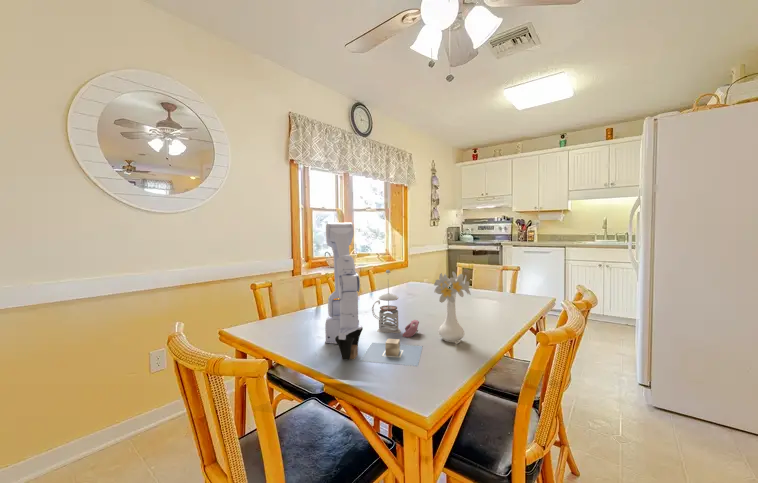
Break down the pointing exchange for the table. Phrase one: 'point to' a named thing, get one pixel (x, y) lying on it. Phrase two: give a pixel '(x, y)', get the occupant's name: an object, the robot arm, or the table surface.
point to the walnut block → (354, 351)
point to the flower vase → (451, 305)
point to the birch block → (392, 347)
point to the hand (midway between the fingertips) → (350, 354)
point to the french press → (387, 325)
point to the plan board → (405, 357)
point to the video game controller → (411, 328)
